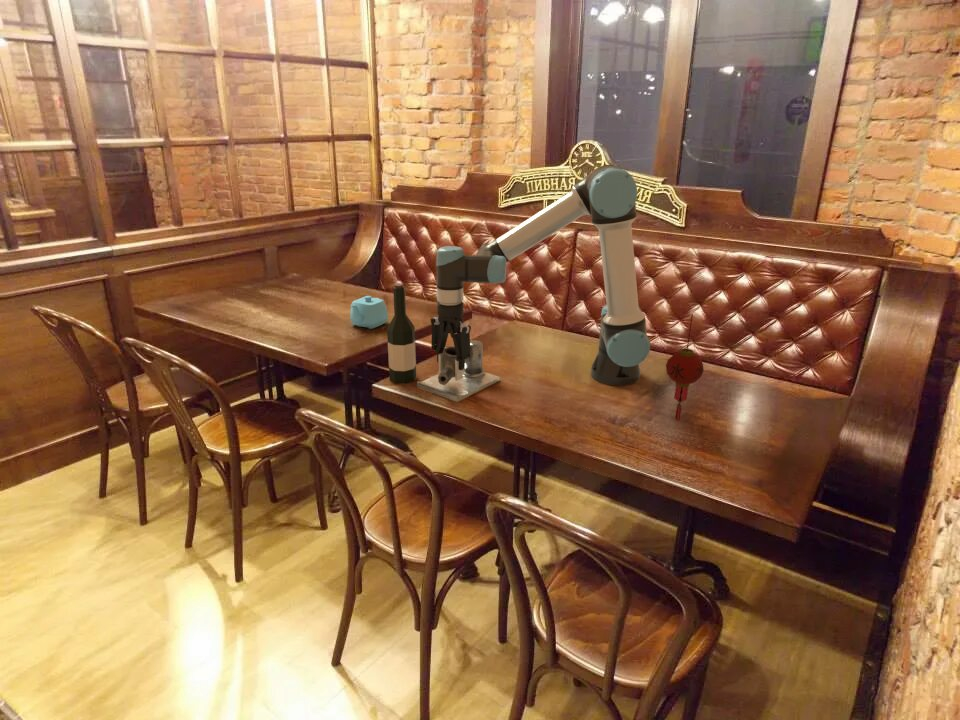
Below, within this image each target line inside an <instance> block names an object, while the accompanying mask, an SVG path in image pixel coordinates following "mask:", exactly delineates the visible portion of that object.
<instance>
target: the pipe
mask: <svg viewBox="0 0 960 720" xmlns="http://www.w3.org/2000/svg"><path fill="white" fill-rule="evenodd" d="M443 355H444V371H442V372H441V373H440V374H439V373H438V374H439V375H438V374H437V375H438V381H439V383H440V384H442V385H445V384H447V383H448V382H449V381H450V380H451V378H452V377H455V360H456V359H457V355H456V351H455V346H454V345H450V346H447V347H446V346H445V349H444V350H443Z"/></svg>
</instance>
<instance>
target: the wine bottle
mask: <svg viewBox="0 0 960 720" xmlns="http://www.w3.org/2000/svg"><path fill="white" fill-rule="evenodd" d="M392 289H393V290H392V291H393V292H392V293H393V309H394V315H393V318H392V319H391V321H390V322H389V325H388V327H387V328H386V334H387V335H386V337H387V353H388V355H387V356H388V371H389V373H388V374H389V376H388V377H389V381H390V382H393V383H394V384H401V385H405V384H410V383H413V382H415V380H416V379H417V360H416V359H417V358H416V357H417V355H416V333H415V332H416V330H415V325H414V324H413V323H412V321H411V320H410V318H409V316H408V315H407V309H406V308H407V306H406V305H407V304H406V287H405V286H404V284H403V283H396V284H394V286H393V288H392Z"/></svg>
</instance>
